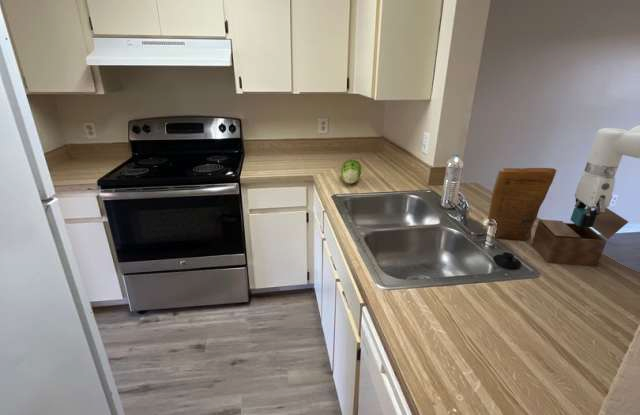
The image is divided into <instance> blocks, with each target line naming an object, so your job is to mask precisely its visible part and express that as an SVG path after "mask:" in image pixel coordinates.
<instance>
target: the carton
mask: <svg viewBox="0 0 640 415" xmlns="http://www.w3.org/2000/svg"><path fill="white" fill-rule="evenodd" d="M607 243H608V240H607V239H605V237H604V236H602V235H601V234H600V233H598V232H596V230H594V229H592V227H582V226H577V225H576V224H575V223H573V222H565V221H563V220H556V219H555V220H554V219H539V220H538V222H537V224H536V229H535V232H534V235H533V238H532V241H531V246H532V247H533V248H534V249H535V251H536V252H537V253H538V254H539V255H540V257H542V258H543V260H544V261H545V262H546V263H547V264H548V263H550V264H561V265H573V266H574V265H575V266H587V267H598V265H599V262H600V260H601V257H602V254H603V252H604V250H605V247H606V244H607Z"/></svg>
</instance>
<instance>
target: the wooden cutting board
mask: <svg viewBox="0 0 640 415" xmlns="http://www.w3.org/2000/svg"><path fill="white" fill-rule="evenodd" d="M498 171H499V172H498V173H497V176H496V178H495V183H494V186H493V189H492V192H491V198H490V202H489V203H490V204H489V211H488V217H487V220H488V219H494V220H495V221H496V223H497V230H496V233H495V237H496V238H495V239H504V240H516V241H524V242H526V241H529V240H531V239H532V230H533V226H534V224H535V221H536V220H537V217H538V214H539V211H540V209H541V206H542V204H543V203H544V201H545V199H546V197H547V194H548V192H549V190H550V187H551V186H552V184H553V182H554V179H555V176H556V174H557V169H556V168H554V167H524V168H523V167H522V168H519V167H515V168H513V167H503V168H502V170H498ZM486 231H487V228H486V230H485V231H484V234H485V233H486Z"/></svg>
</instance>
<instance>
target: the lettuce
mask: <svg viewBox="0 0 640 415" xmlns="http://www.w3.org/2000/svg"><path fill="white" fill-rule="evenodd" d="M340 175H341V178H342V180H343V181H344V182H345V183H346V184H350V185H351V184H355V183H356V182H358V180H359V179H360V177H361V176H362V165H361V163H360V162H359V161H358V160H356V159H354V158H353V159H352V158H351V159H347V160H345V161H344V162H343V163H342V165H341V168H340Z"/></svg>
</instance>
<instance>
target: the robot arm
mask: <svg viewBox="0 0 640 415" xmlns="http://www.w3.org/2000/svg"><path fill="white" fill-rule="evenodd" d="M591 146H592V147H591V150H590V152H589V155H588V158H587V161H586V164H585V167H584V169H583V173H582V175H581V177H580V179H579V182H578V184H577V186H576V190H575V193H574V198H575V204H574V208H586V209H587V212H586V215H584V217H583V220H582V223H581V226H582V227H590V228H593V227H592V226H593V224H594V221H595V218H596V217H597V216H598V215H599V214H601V213H604V212H605V208H609V204H610V202H611V198H612V196H613V192H614V189H615V188H614V187H615V182H616V174H617V170H618V169H619V166H620V163H621V160H622V158H623V156H627V157H631V158H635V159H640V124H638V125H636V126H634V127H632V128H630V129H628V130H626V129H623V128H617V127H604V128H600V129H598V131H597V132H596V134H595V137H594V140H593V143H592V145H591ZM591 210H592V211H591Z"/></svg>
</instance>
